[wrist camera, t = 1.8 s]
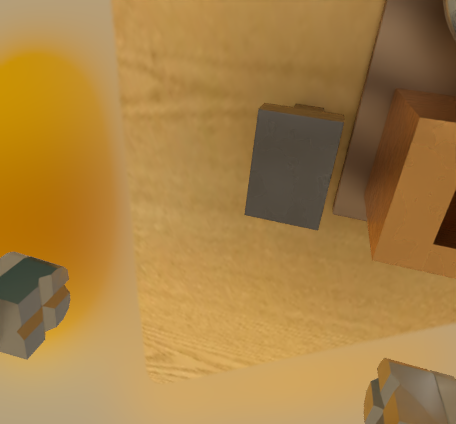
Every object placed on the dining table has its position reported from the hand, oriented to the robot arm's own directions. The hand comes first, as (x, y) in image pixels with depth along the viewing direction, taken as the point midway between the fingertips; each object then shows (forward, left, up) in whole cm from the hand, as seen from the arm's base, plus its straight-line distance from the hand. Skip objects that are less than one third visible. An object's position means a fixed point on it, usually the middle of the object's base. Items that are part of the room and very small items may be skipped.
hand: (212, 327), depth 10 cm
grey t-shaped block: (0, +2, -27) cm, 27 cm away
